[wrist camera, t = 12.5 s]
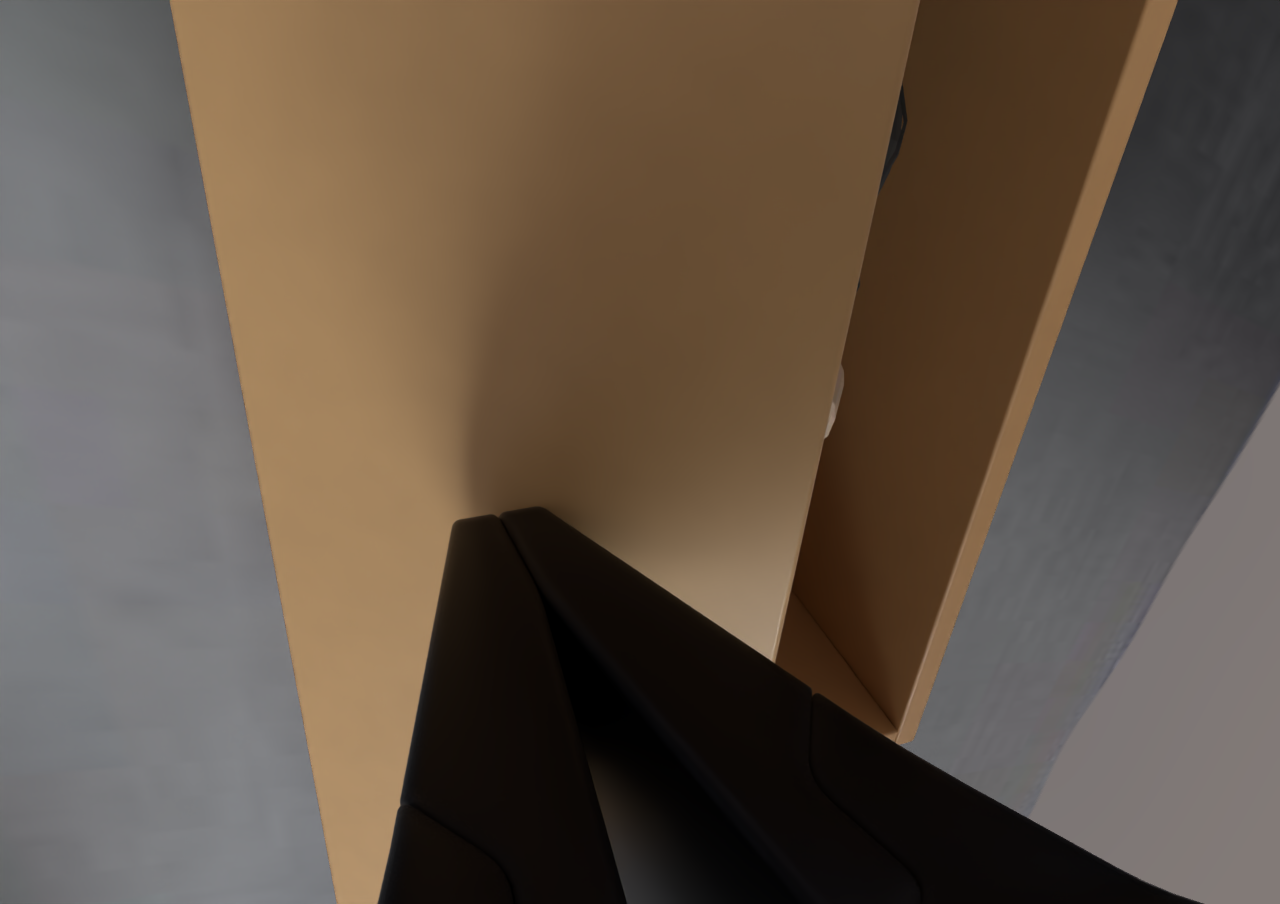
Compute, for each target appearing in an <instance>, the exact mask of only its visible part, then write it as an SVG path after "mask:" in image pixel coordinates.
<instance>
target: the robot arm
mask: <svg viewBox="0 0 1280 904" xmlns="http://www.w3.org/2000/svg"><path fill="white" fill-rule="evenodd" d="M377 904H1203V903H1200V902H1197V901H1194V900H1191V899H1188V898H1185V897H1182V896H1179V895H1176V894H1173V893H1171V892H1168V891H1166V890H1164V889H1161V888H1159V887H1157V886H1154V885H1152V884H1149V883H1147V882H1145V881H1143V880H1141V879H1139V878H1137V877H1135V876H1133V875H1131V874H1129V873H1127V872H1125V871H1123V870H1121V869H1119V868H1117V867H1115V866H1113V865H1112V864H1110V863H1108V862H1106V861H1104V860H1103V859H1101V858H1099V857H1097V856H1095V855H1093V854H1092V853H1090V852H1088V851H1086V850H1084V849H1083V848H1081V847H1079V846H1077V845H1075V844H1073V843H1072V842H1070V841H1068V840H1066V839H1064V838H1063V837H1061V836H1059V835H1057V834H1055V833H1054V832H1052V831H1050V830H1048V829H1046V828H1044V827H1043V826H1041V825H1039V824H1037V823H1035V822H1034V821H1032V820H1030V819H1028V818H1026V817H1025V816H1023V815H1021V814H1019V813H1017V812H1016V811H1014V810H1012V809H1010V808H1008V807H1006V806H1005V805H1003V804H1001V803H999V802H997V801H996V800H994V799H992V798H990V797H988V796H986V795H985V794H983V793H981V792H979V791H977V790H976V789H974V788H972V787H970V786H968V785H967V784H965V783H963V782H961V781H960V780H958V779H956V778H955V777H953V776H951V775H949V774H948V773H946V772H944V771H942V770H941V769H939V768H937V767H936V766H934V765H932V764H930V763H929V762H927V761H925V760H923V759H922V758H920V757H918V756H917V755H915V754H913V753H911V752H910V751H908V750H906V749H905V748H903V747H902V746H900V745H898V744H897V743H895V742H894V741H892V740H891V739H889V738H887V737H886V736H884V735H883V734H881V733H880V732H878V731H877V730H875V729H873V728H872V727H870V726H869V725H867V724H866V723H864V722H862V721H861V720H859V719H858V718H856V717H855V716H853V715H852V714H850V713H849V712H847V711H846V710H844V709H843V708H841V707H840V706H838V705H837V704H835V703H834V702H832V701H831V700H829V699H828V698H826V697H825V696H823V695H822V694H820V693H815V694H814V695H813V696H812V689H811V687H809V686H808V685H806V684H805V683H804V682H802V681H801V680H799V679H798V678H796V677H795V676H793V675H792V674H790V673H789V672H787V671H786V670H784V669H783V668H781V667H780V666H778V665H777V664H775V663H774V662H772V661H771V660H769V659H768V658H766V657H765V656H763V655H762V654H760V653H759V652H758V651H756V650H755V649H753V648H752V647H750V646H749V645H747V644H746V643H744V642H743V641H741V640H740V639H738V638H737V637H735V636H734V635H732V634H731V633H729V632H728V631H726V630H725V629H723V628H722V627H720V626H719V625H717V624H716V623H715V622H713V621H712V620H710V619H709V618H707V617H706V616H704V615H703V614H701V613H700V612H698V611H697V610H695V609H694V608H692V607H691V606H689V605H688V604H686V603H685V602H683V601H682V600H680V599H679V598H677V597H676V596H674V595H673V594H671V593H670V592H669V591H667V590H666V589H664V588H663V587H661V586H660V585H658V584H657V583H655V582H654V581H652V580H651V579H649V578H648V577H646V576H645V575H643V574H642V573H640V572H639V571H637V570H636V569H634V568H633V567H631V566H630V565H628V564H627V563H625V562H624V561H623V560H621V559H620V558H618V557H617V556H615V555H614V554H612V553H611V552H609V551H608V550H606V549H605V548H603V547H602V546H600V545H599V544H597V543H596V542H594V541H593V540H591V539H590V538H588V537H587V536H585V535H584V534H582V533H581V532H580V531H578V530H577V529H575V528H574V527H572V526H571V525H569V524H568V523H566V522H565V521H563V520H562V519H560V518H559V517H557V516H556V515H554V514H553V513H551V512H550V511H548V510H547V509H545V508H543V507H540V506H534V507H529V508H523V509H517V510H511V511H505V512H503V513H501V514H500V516H499V517H498V516H495V515H493V514H488V515H482V516H476V517H470V518H465V519H459V520H457V521H455V522H454V523H453V525H452V528H451V534H450V539H449V544H448V550H447V555H446V560H445V565H444V571H443V576H442V581H441V587H440V592H439V597H438V602H437V608H436V613H435V618H434V623H433V629H432V634H431V639H430V645H429V650H428V655H427V660H426V666H425V671H424V676H423V681H422V687H421V692H420V697H419V702H418V708H417V713H416V718H415V723H414V729H413V734H412V739H411V745H410V750H409V755H408V760H407V766H406V771H405V776H404V781H403V787H402V792H401V797H400V807H399V808H398V810H397V815H396V820H395V825H394V831H393V836H392V841H391V846H390V851H389V856H388V860H387V864H386V869H385V873H384V877H383V882H382V886H381V890H380V895H379V899H378V903H377Z"/></svg>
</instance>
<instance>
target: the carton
mask: <svg viewBox="0 0 1280 904" xmlns="http://www.w3.org/2000/svg"><path fill="white" fill-rule="evenodd" d="M1177 2H1178V0H920V3H919V8H918V13H917V17H916V22H915V26H914V31H913V35H912V40H911V45H910V49H909V54H908V58H907V63H906V67H905V72H904V77H903V81H902V83H903V90H904V98H905V105H906V113H907V120H908V121H907V125H906V129H905V133H904V136H903V140H902V144H901V148H900V151H899V155H898V157H897V158H896V160H895V162H894V163H893V165H892V167H891V170H890V173H889V175H888V177H887V179H886V181H885V183H884V185H883V187H882V189H881V191H880V193H879V195H878V197H877V200H876V204H875V209H874V214H873V218H872V223H871V227H870V232H869V236H868V241H867V246H866V250H865V255H864V259H863V264H862V268H861V273H860V287H859V289H858V291H857V292H856V296H855V300H854V305H853V310H852V314H851V319H850V323H849V328H848V332H847V337H846V342H845V346H844V351H843V355H842V360H841V365H842V367H843V370H844V386H843V390H842V394H841V398H840V402H839V406H838V410H837V414H836V418H835V421H834V423H833V425H832V428H831V430H830V432H829V435H828V437H826V438H825V439H824V442H823V447H822V451H821V456H820V460H819V465H818V469H817V474H816V479H815V483H814V488H813V492H812V497H811V501H810V506H809V511H808V515H807V520H806V524H805V529H804V533H803V538H802V543H801V547H800V552H799V556H798V561H797V565H796V570H795V575H794V579H793V584H792V588H791V593H790V597H789V602H788V607H787V611H786V616H785V620H784V625H783V629H782V634H781V639H780V643H779V648H778V652H777V657H776V661H775V664H777V665H778V666H780V667H781V668H783V669H784V670H786V671H787V672H789V673H790V674H792V675H793V676H795V677H796V678H798V679H799V680H801V681H802V682H804V683H805V684H806V685H808V686H809V687H811V689H812V696H813V695H814V694H815V693H820V694H822V695H823V696H825V697H826V698H828V699H829V700H831V701H832V702H834V703H835V704H837V705H838V706H840V707H841V708H843V709H844V710H846V711H847V712H849V713H850V714H852V715H853V716H855V717H856V718H858V719H859V720H861V721H862V722H864V723H866V724H867V725H869V726H870V727H872V728H873V729H875V730H877V731H878V732H880V733H881V734H883V735H884V736H886V737H887V738H889V739H891V740H892V741H894V742H895V743H897V744H898V745H900V744H904V743H907V742H910V741H912V740H913V739H914V737H915V734H916V731H917V729H918V726H919V723H920V720H921V717H922V715H923V712H924V709H925V706H926V703H927V701H928V698H929V695H930V692H931V689H932V687H933V684H934V681H935V678H936V675H937V673H938V670H939V667H940V664H941V661H942V659H943V656H944V653H945V650H946V647H947V645H948V642H949V639H950V636H951V633H952V631H953V628H954V625H955V622H956V619H957V617H958V614H959V611H960V608H961V606H962V603H963V600H964V597H965V594H966V592H967V589H968V586H969V583H970V580H971V578H972V575H973V572H974V569H975V566H976V564H977V561H978V558H979V555H980V552H981V550H982V547H983V544H984V541H985V538H986V536H987V533H988V530H989V527H990V524H991V522H992V519H993V516H994V513H995V510H996V508H997V505H998V502H999V499H1000V496H1001V494H1002V491H1003V488H1004V485H1005V482H1006V480H1007V477H1008V474H1009V471H1010V469H1011V466H1012V463H1013V460H1014V457H1015V455H1016V452H1017V449H1018V446H1019V443H1020V441H1021V438H1022V435H1023V432H1024V429H1025V427H1026V424H1027V421H1028V418H1029V415H1030V413H1031V410H1032V407H1033V404H1034V401H1035V399H1036V396H1037V393H1038V390H1039V387H1040V385H1041V382H1042V379H1043V376H1044V373H1045V371H1046V368H1047V365H1048V362H1049V359H1050V357H1051V354H1052V351H1053V348H1054V345H1055V343H1056V340H1057V337H1058V334H1059V332H1060V329H1061V326H1062V323H1063V320H1064V318H1065V315H1066V312H1067V309H1068V306H1069V304H1070V301H1071V298H1072V295H1073V292H1074V290H1075V287H1076V284H1077V281H1078V278H1079V276H1080V273H1081V270H1082V267H1083V264H1084V262H1085V259H1086V256H1087V253H1088V250H1089V248H1090V245H1091V242H1092V239H1093V236H1094V234H1095V231H1096V228H1097V225H1098V222H1099V220H1100V217H1101V214H1102V211H1103V208H1104V206H1105V203H1106V200H1107V197H1108V195H1109V192H1110V189H1111V186H1112V183H1113V181H1114V178H1115V175H1116V172H1117V169H1118V167H1119V164H1120V161H1121V158H1122V155H1123V153H1124V150H1125V147H1126V144H1127V141H1128V139H1129V136H1130V133H1131V130H1132V127H1133V125H1134V122H1135V119H1136V116H1137V113H1138V111H1139V108H1140V105H1141V102H1142V99H1143V97H1144V94H1145V91H1146V88H1147V85H1148V83H1149V80H1150V77H1151V74H1152V71H1153V69H1154V66H1155V63H1156V60H1157V58H1158V55H1159V52H1160V49H1161V46H1162V44H1163V41H1164V38H1165V35H1166V32H1167V30H1168V27H1169V24H1170V21H1171V18H1172V16H1173V13H1174V10H1175V7H1176V4H1177ZM902 126H903V115H902ZM902 126H901V129H902Z"/></svg>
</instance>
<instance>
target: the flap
mask: <svg viewBox="0 0 1280 904" xmlns="http://www.w3.org/2000/svg"><path fill="white" fill-rule="evenodd" d="M919 3H920V0H170V5H171V11H172V16H173V21H174V27H175V32H176V38H177V43H178V48H179V54H180V59H181V65H182V70H183V75H184V81H185V86H186V92H187V97H188V102H189V108H190V113H191V119H192V124H193V129H194V135H195V140H196V146H197V151H198V156H199V162H200V167H201V173H202V178H203V183H204V189H205V194H206V200H207V205H208V210H209V216H210V221H211V227H212V232H213V237H214V243H215V248H216V254H217V259H218V264H219V270H220V275H221V281H222V286H223V291H224V297H225V302H226V308H227V313H228V318H229V324H230V329H231V335H232V340H233V345H234V351H235V356H236V362H237V367H238V372H239V378H240V383H241V389H242V394H243V399H244V405H245V410H246V416H247V421H248V426H249V432H250V437H251V443H252V448H253V453H254V459H255V464H256V470H257V475H258V480H259V486H260V491H261V497H262V502H263V507H264V513H265V518H266V524H267V529H268V534H269V540H270V545H271V551H272V556H273V561H274V567H275V572H276V578H277V583H278V588H279V594H280V599H281V605H282V610H283V615H284V621H285V626H286V632H287V637H288V642H289V648H290V653H291V659H292V664H293V669H294V675H295V680H296V686H297V691H298V696H299V702H300V707H301V713H302V718H303V723H304V729H305V734H306V740H307V745H308V750H309V756H310V761H311V767H312V772H313V777H314V783H315V788H316V794H317V799H318V804H319V810H320V815H321V821H322V826H323V831H324V837H325V842H326V848H327V853H328V858H329V864H330V869H331V875H332V880H333V885H334V891H335V896H336V902H337V904H377V903H378V899H379V895H380V890H381V886H382V882H383V877H384V873H385V869H386V864H387V860H388V856H389V851H390V846H391V841H392V836H393V831H394V825H395V820H396V815H397V810H398V808H399V807H400V797H401V792H402V787H403V781H404V776H405V771H406V766H407V760H408V755H409V750H410V745H411V739H412V734H413V729H414V723H415V718H416V713H417V708H418V702H419V697H420V692H421V687H422V681H423V676H424V671H425V666H426V660H427V655H428V650H429V645H430V639H431V634H432V629H433V623H434V618H435V613H436V608H437V602H438V597H439V592H440V587H441V581H442V576H443V571H444V565H445V560H446V555H447V550H448V544H449V539H450V534H451V528H452V525H453V523H454V522H455V521H457V520H459V519H465V518H470V517H476V516H482V515H488V514H493V515H495V516H498V517H499V516H500V514H501V513H503V512H505V511H511V510H517V509H523V508H529V507H534V506H540V507H543V508H545V509H547V510H548V511H550V512H551V513H553V514H554V515H556V516H557V517H559V518H560V519H562V520H563V521H565V522H566V523H568V524H569V525H571V526H572V527H574V528H575V529H577V530H578V531H580V532H581V533H582V534H584V535H585V536H587V537H588V538H590V539H591V540H593V541H594V542H596V543H597V544H599V545H600V546H602V547H603V548H605V549H606V550H608V551H609V552H611V553H612V554H614V555H615V556H617V557H618V558H620V559H621V560H623V561H624V562H625V563H627V564H628V565H630V566H631V567H633V568H634V569H636V570H637V571H639V572H640V573H642V574H643V575H645V576H646V577H648V578H649V579H651V580H652V581H654V582H655V583H657V584H658V585H660V586H661V587H663V588H664V589H666V590H667V591H669V592H670V593H671V594H673V595H674V596H676V597H677V598H679V599H680V600H682V601H683V602H685V603H686V604H688V605H689V606H691V607H692V608H694V609H695V610H697V611H698V612H700V613H701V614H703V615H704V616H706V617H707V618H709V619H710V620H712V621H713V622H715V623H716V624H717V625H719V626H720V627H722V628H723V629H725V630H726V631H728V632H729V633H731V634H732V635H734V636H735V637H737V638H738V639H740V640H741V641H743V642H744V643H746V644H747V645H749V646H750V647H752V648H753V649H755V650H756V651H758V652H759V653H760V654H762V655H763V656H765V657H766V658H768V659H769V660H771V661H772V662H774V663H775V661H776V657H777V652H778V648H779V643H780V639H781V634H782V629H783V625H784V620H785V616H786V611H787V607H788V602H789V597H790V593H791V588H792V584H793V579H794V575H795V570H796V565H797V561H798V556H799V552H800V547H801V543H802V538H803V533H804V529H805V524H806V520H807V515H808V511H809V506H810V501H811V497H812V492H813V488H814V483H815V479H816V474H817V469H818V465H819V460H820V456H821V451H822V447H823V442H824V437H825V433H826V428H827V424H828V419H829V415H830V410H831V406H832V401H833V396H834V392H835V387H836V383H837V378H838V374H839V369H840V364H841V360H842V355H843V351H844V346H845V342H846V337H847V332H848V328H849V323H850V319H851V314H852V310H853V305H854V300H855V296H856V291H857V287H858V282H859V278H860V273H861V268H862V264H863V259H864V255H865V250H866V246H867V241H868V236H869V232H870V227H871V223H872V218H873V214H874V209H875V204H876V200H877V195H878V191H879V186H880V182H881V177H882V172H883V168H884V163H885V159H886V154H887V150H888V145H889V141H890V136H891V131H892V127H893V122H894V118H895V113H896V109H897V104H898V99H899V95H900V90H901V86H902V81H903V77H904V72H905V67H906V63H907V58H908V54H909V49H910V45H911V40H912V35H913V31H914V26H915V22H916V17H917V13H918V8H919Z"/></svg>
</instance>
